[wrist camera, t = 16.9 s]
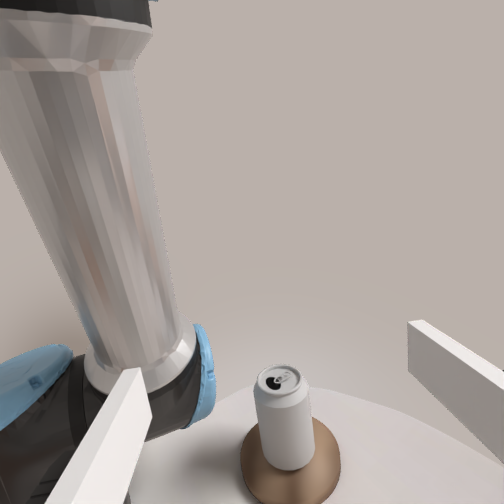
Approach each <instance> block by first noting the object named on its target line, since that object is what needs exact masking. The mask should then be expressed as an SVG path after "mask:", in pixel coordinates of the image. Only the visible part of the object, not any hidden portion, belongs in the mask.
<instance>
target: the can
mask: <svg viewBox="0 0 504 504" xmlns="http://www.w3.org/2000/svg"><path fill="white" fill-rule="evenodd" d="M253 392H254V398H255V405H256V411H257V418H258V424H259V431H260V437H261V444H262V450H263V453H264V457H265V458H266V459H267V461H268V462H269V463H270V464H271V465H273V466H274V467H275V468H278V469H281V470H296V469H299V468H302V467H303V466H305V465H306V464H308V463H309V462H310V460H311V459H312V457H313V455H314V451H315V442H314V433H313V424H312V414H311V405H310V396H309V387H308V383H307V381H306V379H305V378H304V377H303V375H302V373H301V372H300V370H298V369H297V368H296V367H293V366H291V365H286V364H276V365H272V366H269V367H267V368H265V369H264V370H263V371H261V372H260V373H259V375H258V377H257V382H256V384H255V386H254V391H253Z"/></svg>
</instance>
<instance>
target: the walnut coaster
mask: <svg viewBox="0 0 504 504" xmlns="http://www.w3.org/2000/svg"><path fill="white" fill-rule="evenodd" d="M312 424H313V433H314V442H315V451H314V455H313V457H312V459H311V460H310V462H309V463H308V464H306V465H305V466H303V467H302V468H299V469H296V470H281V469H278V468H275V467H274V466H273V465H271V464H270V463H269V462H268V461H267V459H266V458H265V457H264V453H263V450H262V444H261V437H260V431H259V424H258V423H257V424H256V425H255V426H254V427H253V428H252V429H251V430H250V431H249V433H248V434H247V436H246V437H245V440H244V442H243V445H242V448H241V466H242V472H243V476H244V480H245V482H246V485H247V487H248V488H249V490H250V492H251V493H252V494H253V495H254V496H255V497H256V498H257V499H258V500H259V501H260V502H261V503H263V504H321V503H323V502H324V501H325V500H326V499H327V498H328V497H329V496H330V495H331V494H332V492H333V491H334V489H335V487H336V485H337V483H338V481H339V477H340V470H341V464H340V452H339V447H338V444H337V441H336V439H335V437H334V436H333V434H332V433H331V431H330V430H329V429H328V428H327V427H326V426H325V425H324V424H323V423H321V422H320V421H318V420H317V419H315V418H313V417H312Z"/></svg>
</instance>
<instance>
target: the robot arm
mask: <svg viewBox="0 0 504 504" xmlns="http://www.w3.org/2000/svg"><path fill="white" fill-rule="evenodd" d="M148 1H158V0H0V151H1V153H2V156H3V158H4V160H5V162H6V164H7V166H8V168H9V170H10V173H11V175H12V177H13V179H14V181H15V183H16V185H17V187H18V189H19V191H20V194H21V196H22V198H23V200H24V202H25V204H26V206H27V208H28V211H29V213H30V215H31V217H32V219H33V221H34V223H35V226H36V228H37V230H38V232H39V234H40V236H41V238H42V240H43V243H44V245H45V247H46V249H47V251H48V253H49V255H50V257H51V259H52V262H53V264H54V266H55V268H56V270H57V272H58V274H59V276H60V279H61V281H62V283H63V284H64V287H65V289H66V291H67V293H68V295H69V298H70V300H71V302H72V304H73V306H74V308H75V310H76V312H77V315H78V317H79V319H80V321H81V323H82V325H83V327H84V329H85V331H86V334H87V336H88V338H89V340H90V342H91V343H90V344H89V346H88V348H87V351H86V354H83V355H80V356H76V357H73V351H72V350H70V349H69V347H68V346H66V345H64V344H59V345H55V344H52V345H47V346H44V347H40V348H37V349H34V350H31V351H28V352H26V353H23V354H21V355H19V356H17V357H14V358H12V359H10V360H8V361H6V362H4V363H2V364H0V504H131V502H130V496H129V493H128V488H129V485H130V482H131V479H132V476H133V473H134V470H135V467H136V464H137V461H138V458H139V455H140V452H141V449H142V446H143V443H145V442H147V441H150V440H152V439H155V438H157V437H160V436H163V435H165V434H168V433H170V432H173V431H175V430H178V429H186V428H188V427H189V426H190V425H192V424H193V423H195V422H197V421H199V420H201V419H204V418H206V417H207V416H208V415H209V414H210V413H211V412H212V410H213V408H214V404H215V399H216V380H215V375H214V372H213V370H214V362H213V357H212V352H211V348H210V344H209V341H208V338H207V335H206V332H205V330H204V329H203V327H202V326H201V325H199V324H192V323H191V321H190V320H189V318H188V317H187V316H185V315H184V314H183V313H181V312H180V311H178V310H177V305H176V300H175V294H174V288H173V283H172V278H171V272H170V267H169V261H168V256H167V250H166V245H165V240H164V235H163V229H162V223H161V218H160V212H159V207H158V201H157V196H156V191H155V185H154V180H153V174H152V169H151V163H150V158H149V152H148V147H147V142H146V136H145V132H144V125H143V120H142V115H141V109H140V104H139V98H138V93H137V87H136V82H135V76H134V71H133V69H134V65H135V62H136V59H137V58H138V56H139V55H140V53H141V52H142V51H143V49H144V48H145V46H146V44H147V43H148V42H149V40H150V39H151V37H152V35H153V34H152V25H151V18H150V11H149V4H148ZM407 323H408V324H407V329H408V371H409V372H410V373H411V374H412V375H413V376H414V377H415V378H416V379H417V380H418V381H419V382H420V383H421V384H422V385H423V386H424V387H425V388H426V389H428V391H429V392H430V393H432V394H433V395H434V396H435V397H436V398H437V399H438V400H439V401H440V402H441V403H442V404H443V405H444V406H445V407H446V408H447V409H448V410H449V411H450V412H451V413H452V414H453V415H454V416H455V417H456V418H457V419H458V420H459V421H460V422H461V423H462V424H463V425H464V426H465V427H466V428H468V429H469V430H470V431H471V432H472V433H473V434H474V435H475V436H476V437H477V438H478V439H479V440H480V441H481V442H482V443H483V444H484V445H485V446H486V447H487V448H488V449H489V450H490V451H491V452H492V453H493V454H494V455H495V456H496V457H497V458H498V459H499V460H500V461H501V462H502V463H504V370H500V369H499V368H497V367H496V366H494V365H492V364H491V363H489V362H488V361H486V360H484V359H483V358H481V357H480V356H478V355H477V354H475V353H474V352H472V351H470V350H469V349H467V348H466V347H464V346H463V345H461V344H459V343H458V342H456V341H455V340H453V339H452V338H450V337H449V336H447V335H445V334H444V333H442V332H441V331H439V330H437V329H436V328H435V327H433V326H431V325H430V324H428V323H427V322H425V321H424V320H417V321H411V322H407Z"/></svg>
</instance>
